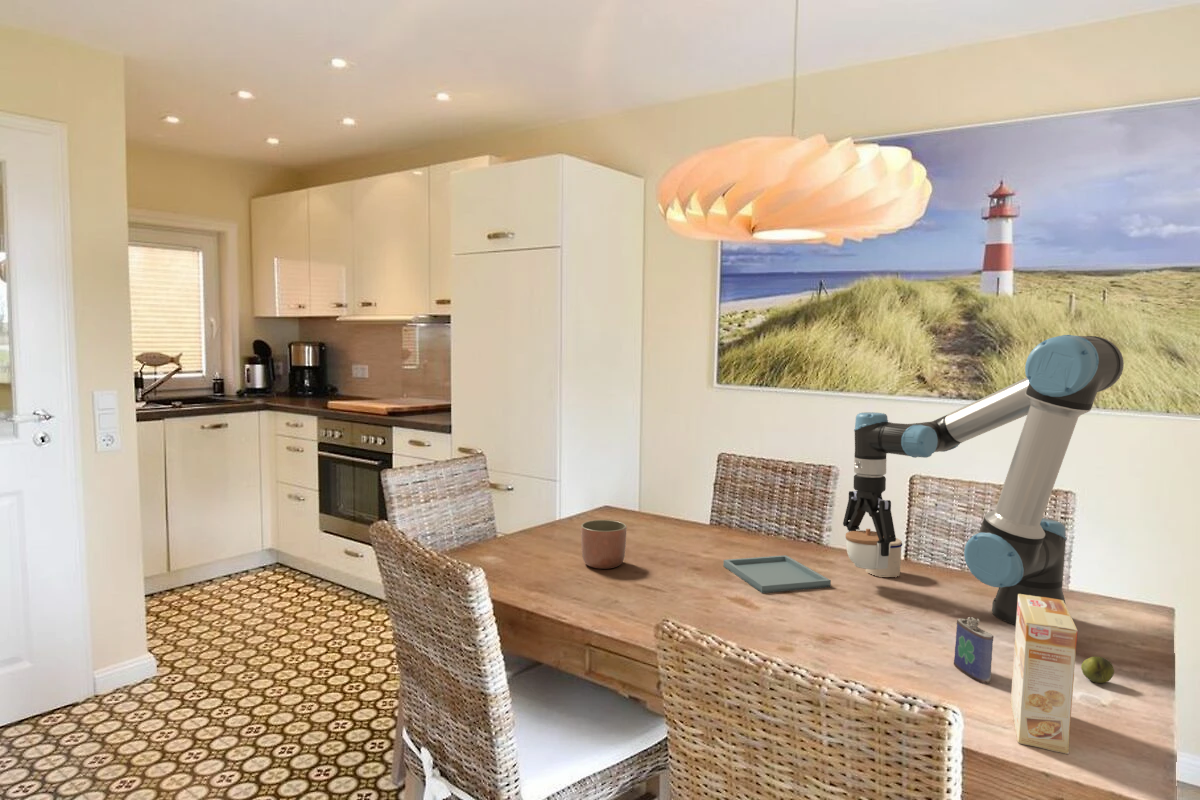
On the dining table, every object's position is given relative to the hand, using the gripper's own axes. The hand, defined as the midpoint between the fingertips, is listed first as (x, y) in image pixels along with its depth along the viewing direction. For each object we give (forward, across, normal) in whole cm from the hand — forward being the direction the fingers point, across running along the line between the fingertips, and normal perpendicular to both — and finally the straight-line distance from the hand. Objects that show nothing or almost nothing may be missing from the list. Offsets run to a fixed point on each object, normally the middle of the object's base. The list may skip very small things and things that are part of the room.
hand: (867, 562), depth 187 cm
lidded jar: (+1, 0, 0) cm, 1 cm away
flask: (+8, +46, -10) cm, 48 cm away
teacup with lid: (+7, -11, +11) cm, 17 cm away
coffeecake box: (+8, +65, -14) cm, 67 cm away
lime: (+8, +55, +10) cm, 57 cm away
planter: (+6, -34, -59) cm, 68 cm away
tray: (+6, -14, -18) cm, 24 cm away
